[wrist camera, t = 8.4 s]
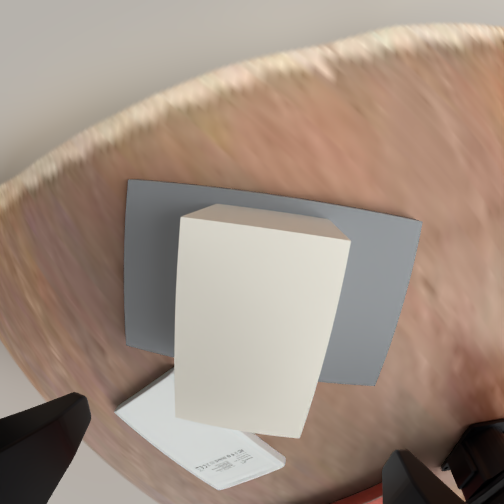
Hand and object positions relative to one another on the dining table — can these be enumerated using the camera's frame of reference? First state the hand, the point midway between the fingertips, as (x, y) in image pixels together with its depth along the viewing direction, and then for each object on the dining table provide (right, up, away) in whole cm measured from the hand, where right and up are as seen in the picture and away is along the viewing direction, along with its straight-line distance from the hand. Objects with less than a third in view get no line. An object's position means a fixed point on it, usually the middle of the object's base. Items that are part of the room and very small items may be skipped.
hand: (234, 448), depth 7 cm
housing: (+1, +3, +10) cm, 11 cm away
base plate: (+1, +3, +11) cm, 12 cm away
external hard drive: (-4, -10, +16) cm, 19 cm away
